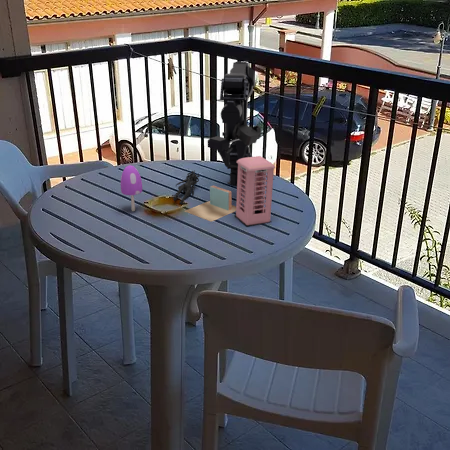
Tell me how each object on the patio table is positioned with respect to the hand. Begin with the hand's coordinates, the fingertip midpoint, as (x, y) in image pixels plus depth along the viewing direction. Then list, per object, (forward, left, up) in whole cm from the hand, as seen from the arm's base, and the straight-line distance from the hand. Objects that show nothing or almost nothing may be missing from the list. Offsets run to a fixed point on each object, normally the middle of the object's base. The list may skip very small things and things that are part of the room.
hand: (234, 164), depth 177 cm
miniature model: (+7, +14, -13) cm, 21 cm away
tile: (+6, 0, -13) cm, 14 cm away
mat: (+10, 0, -13) cm, 16 cm away
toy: (+27, -19, -13) cm, 36 cm away
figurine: (+7, -15, -13) cm, 21 cm away
